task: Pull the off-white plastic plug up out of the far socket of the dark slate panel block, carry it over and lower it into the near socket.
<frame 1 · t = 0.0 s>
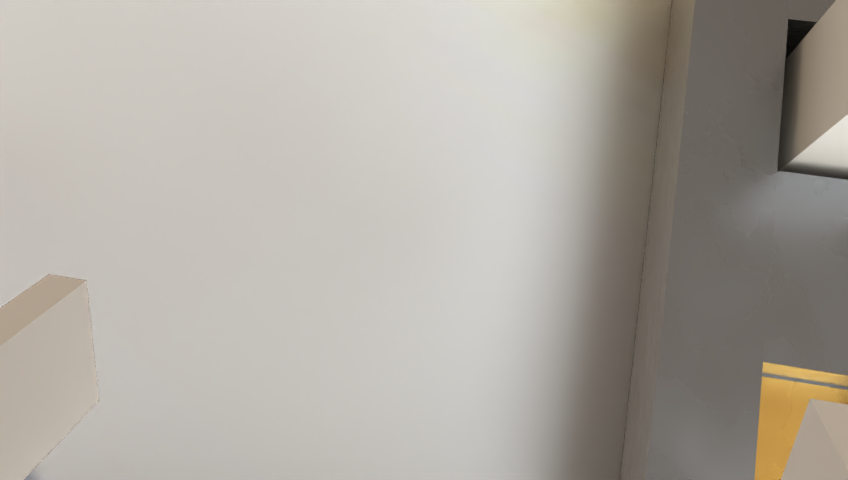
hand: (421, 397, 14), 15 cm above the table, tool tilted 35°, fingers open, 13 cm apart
plug: (825, 138, 29), point 1 cm above the table, touching panel block
panel block: (803, 297, 28), on the table
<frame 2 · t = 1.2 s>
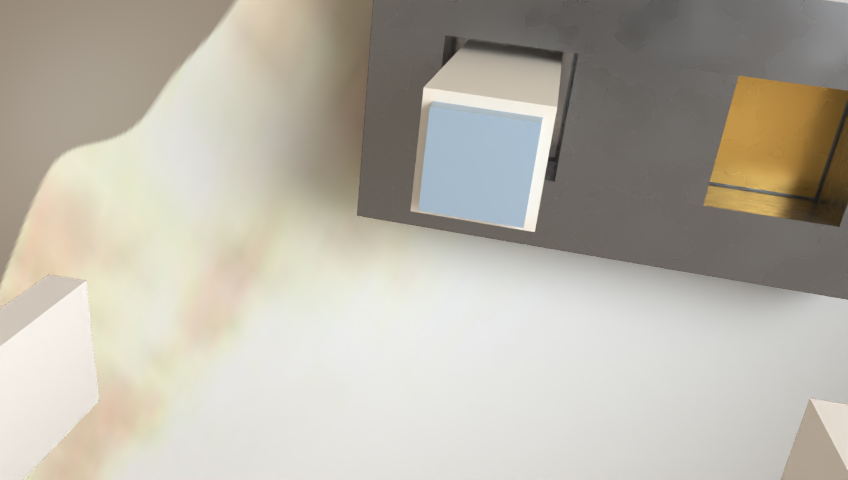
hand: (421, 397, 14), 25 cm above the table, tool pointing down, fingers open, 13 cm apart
plug: (507, 94, 35), point 1 cm above the table, touching panel block
panel block: (634, 107, 36), on the table
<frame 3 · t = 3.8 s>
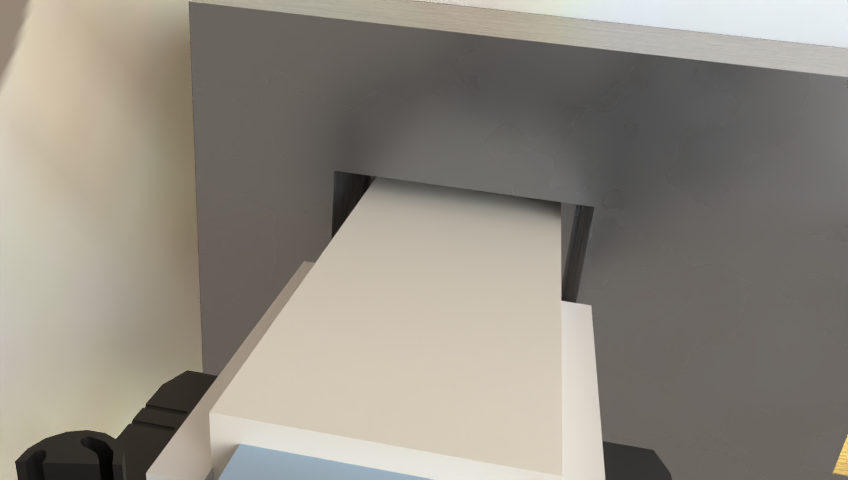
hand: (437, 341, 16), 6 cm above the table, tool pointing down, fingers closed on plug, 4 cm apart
plug: (465, 244, 20), point 1 cm above the table, touching gripper, panel block
panel block: (687, 261, 20), on the table
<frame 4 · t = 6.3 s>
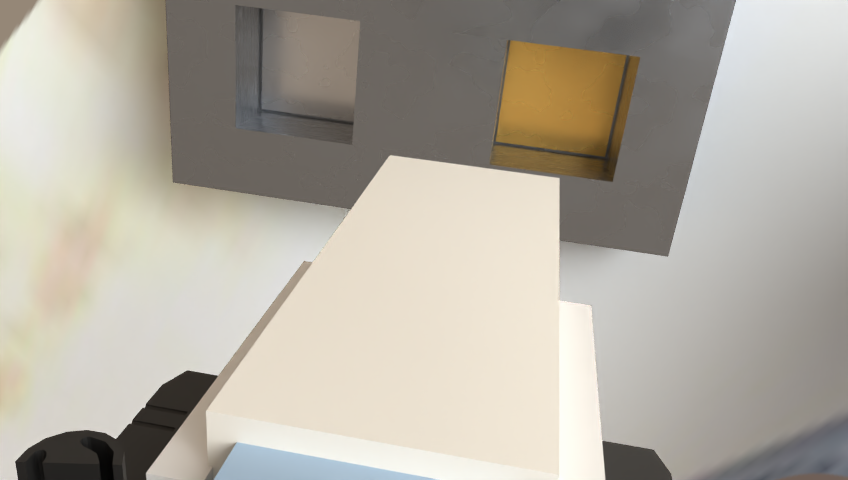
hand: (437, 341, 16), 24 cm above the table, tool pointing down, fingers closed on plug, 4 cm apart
plug: (464, 244, 20), point 19 cm above the table, touching gripper
panel block: (438, 74, 37), on the table
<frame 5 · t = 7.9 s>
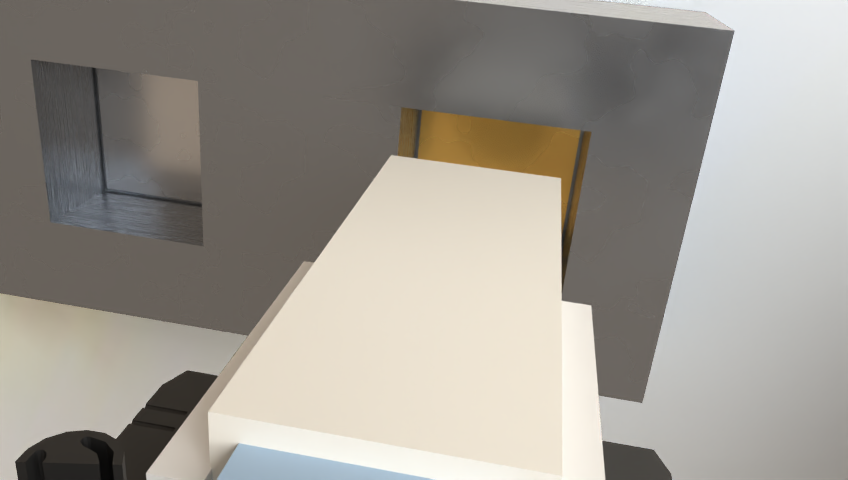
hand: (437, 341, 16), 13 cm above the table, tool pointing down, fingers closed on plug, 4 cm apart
plug: (465, 244, 20), point 8 cm above the table, touching gripper
panel block: (335, 143, 28), on the table
when the fingers open (8 cm above the table, at t = 9.2 s): plug drops 2 cm, resting on panel block.
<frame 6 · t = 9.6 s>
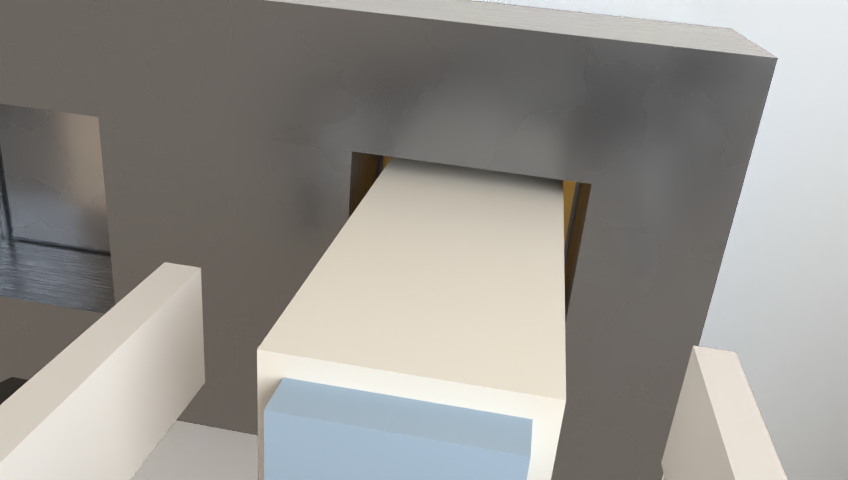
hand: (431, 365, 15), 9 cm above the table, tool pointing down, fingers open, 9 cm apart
plug: (473, 223, 22), point 1 cm above the table, touching panel block
panel block: (283, 183, 23), on the table
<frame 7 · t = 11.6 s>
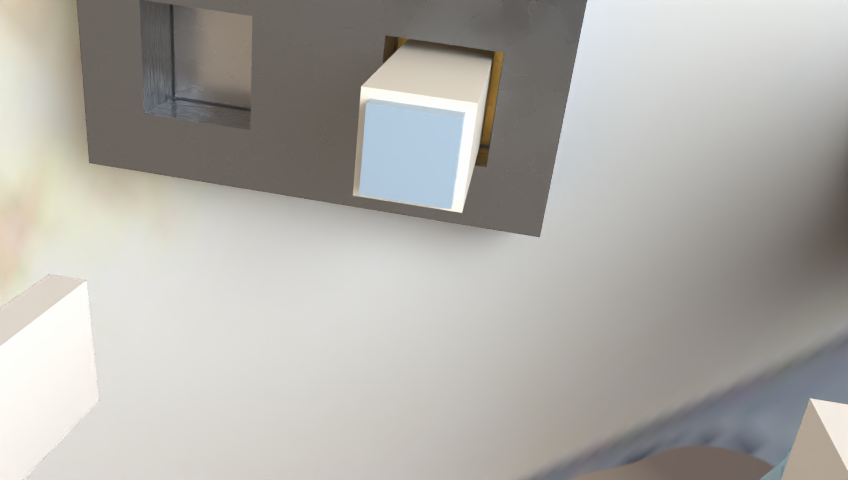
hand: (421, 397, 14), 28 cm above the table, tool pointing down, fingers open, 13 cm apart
plug: (446, 87, 39), point 1 cm above the table, touching panel block
panel block: (338, 66, 40), on the table
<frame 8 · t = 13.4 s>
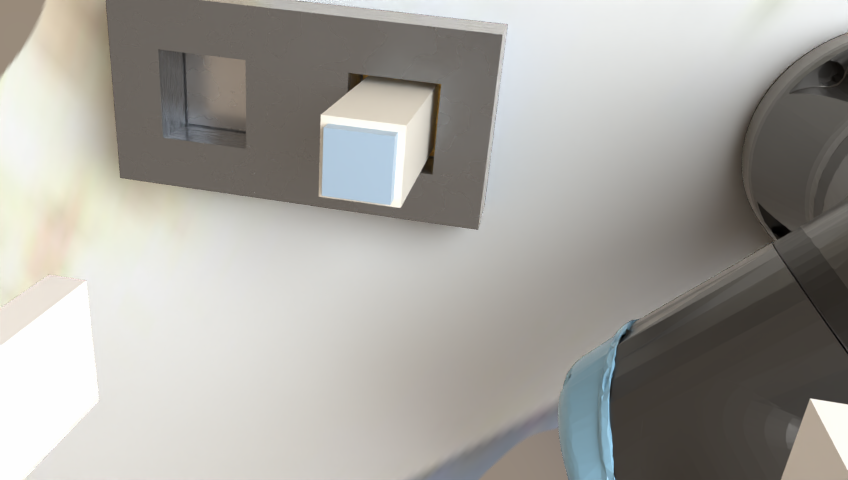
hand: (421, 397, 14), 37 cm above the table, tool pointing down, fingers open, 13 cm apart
plug: (402, 111, 48), point 1 cm above the table, touching panel block
panel block: (317, 96, 50), on the table
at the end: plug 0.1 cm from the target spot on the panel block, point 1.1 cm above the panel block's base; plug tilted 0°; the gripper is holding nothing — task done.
